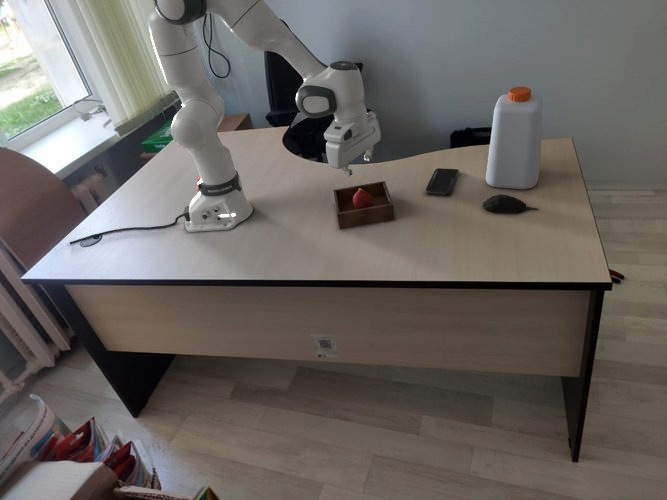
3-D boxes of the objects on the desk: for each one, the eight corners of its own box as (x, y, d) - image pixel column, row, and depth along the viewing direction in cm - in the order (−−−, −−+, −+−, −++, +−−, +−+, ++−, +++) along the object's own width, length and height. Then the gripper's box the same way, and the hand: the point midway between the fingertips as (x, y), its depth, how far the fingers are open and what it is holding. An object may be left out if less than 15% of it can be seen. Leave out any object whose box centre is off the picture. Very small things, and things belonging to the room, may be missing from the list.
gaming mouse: (537, 215, 132) (538, 203, 130) (481, 213, 137) (482, 201, 135) (537, 203, 137) (538, 191, 135) (483, 201, 142) (484, 189, 140)
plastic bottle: (491, 164, 158) (496, 80, 141) (540, 167, 152) (551, 80, 135) (483, 188, 148) (486, 100, 131) (535, 192, 142) (546, 100, 125)
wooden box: (339, 229, 142) (336, 214, 139) (335, 204, 154) (333, 189, 150) (394, 219, 142) (393, 204, 138) (386, 195, 153) (384, 180, 150)
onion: (373, 204, 149) (370, 182, 144) (372, 215, 145) (370, 192, 140) (354, 206, 150) (351, 184, 145) (353, 216, 146) (350, 194, 141)
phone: (425, 191, 149) (436, 167, 160) (425, 194, 150) (436, 170, 160) (450, 193, 146) (459, 169, 157) (450, 196, 147) (459, 172, 157)
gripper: (365, 107, 138) (371, 150, 146) (319, 136, 127) (328, 182, 135) (383, 109, 134) (388, 154, 142) (337, 140, 123) (345, 186, 131)
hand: (358, 168), depth 138 cm, fingers open, 8 cm apart
